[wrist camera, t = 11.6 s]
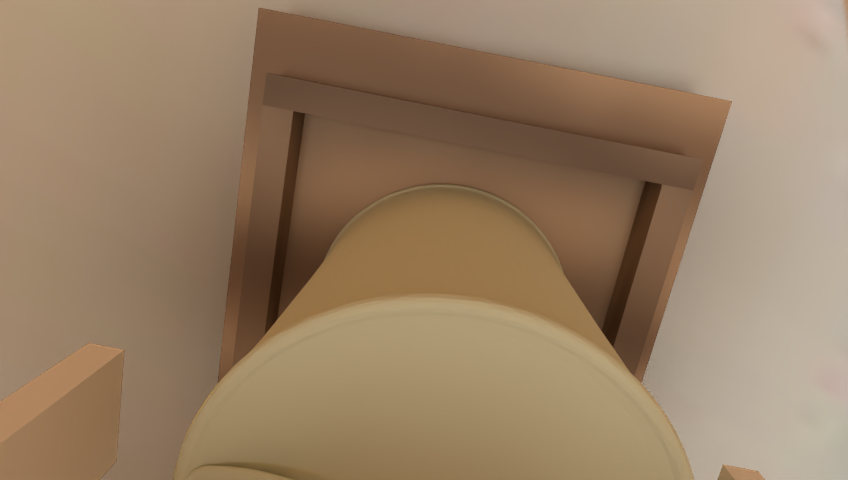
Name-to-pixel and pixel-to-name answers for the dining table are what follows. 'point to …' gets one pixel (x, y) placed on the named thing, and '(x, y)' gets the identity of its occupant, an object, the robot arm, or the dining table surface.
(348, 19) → the dining table surface
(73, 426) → the robot arm
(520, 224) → the can
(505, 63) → the stand
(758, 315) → the dining table surface
